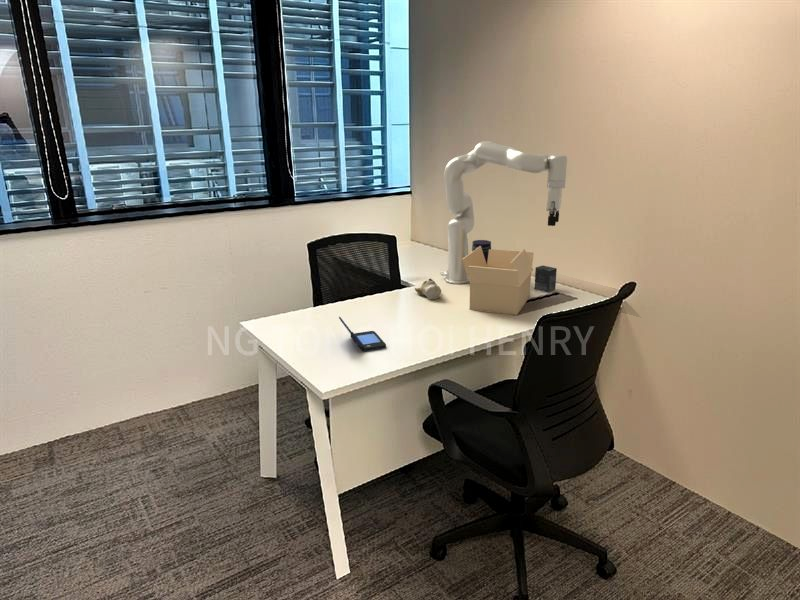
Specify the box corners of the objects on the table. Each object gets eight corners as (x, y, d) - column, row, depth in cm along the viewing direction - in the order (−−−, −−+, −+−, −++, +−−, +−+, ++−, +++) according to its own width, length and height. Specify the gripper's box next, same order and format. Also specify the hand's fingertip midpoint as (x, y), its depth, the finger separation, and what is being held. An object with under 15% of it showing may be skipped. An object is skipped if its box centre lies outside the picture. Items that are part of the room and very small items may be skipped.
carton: (458, 310, 221) (459, 260, 214) (480, 289, 248) (481, 244, 242) (515, 317, 212) (518, 265, 205) (531, 294, 239) (533, 248, 232)
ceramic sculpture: (424, 283, 229) (413, 276, 243) (424, 302, 232) (413, 294, 245) (447, 280, 232) (434, 274, 246) (447, 299, 235) (434, 292, 248)
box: (555, 290, 245) (557, 268, 242) (548, 292, 242) (549, 270, 238) (541, 286, 251) (542, 264, 247) (533, 289, 247) (535, 267, 244)
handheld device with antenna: (387, 349, 186) (386, 324, 183) (350, 355, 181) (348, 330, 178) (374, 333, 200) (373, 310, 197) (339, 338, 195) (337, 315, 192)
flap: (510, 263, 209) (511, 262, 209) (523, 249, 231) (524, 248, 231) (519, 286, 210) (520, 285, 210) (531, 270, 232) (533, 269, 232)
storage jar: (470, 271, 278) (470, 243, 274) (473, 266, 287) (473, 239, 283) (489, 272, 276) (490, 244, 271) (491, 267, 285) (492, 240, 280)
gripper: (550, 182, 238) (547, 219, 243) (544, 186, 223) (541, 226, 228) (567, 182, 235) (564, 220, 240) (562, 186, 220) (559, 227, 225)
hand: (553, 223), depth 234 cm, fingers open, 9 cm apart
